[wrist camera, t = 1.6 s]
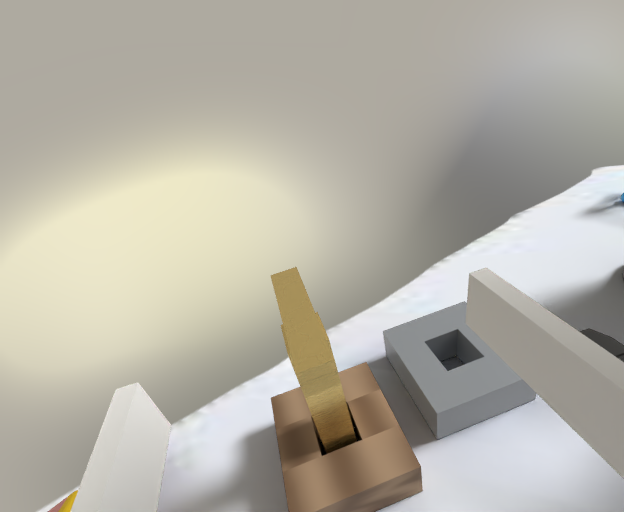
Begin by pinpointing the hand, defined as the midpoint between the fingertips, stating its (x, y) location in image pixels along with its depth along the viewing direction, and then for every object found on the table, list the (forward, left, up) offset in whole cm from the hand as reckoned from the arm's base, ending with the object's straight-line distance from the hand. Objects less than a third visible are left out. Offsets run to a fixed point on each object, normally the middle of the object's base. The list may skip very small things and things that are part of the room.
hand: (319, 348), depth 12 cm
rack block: (-7, -19, -27) cm, 34 cm away
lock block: (+5, -8, -27) cm, 28 cm away
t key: (+5, -8, -27) cm, 28 cm away
